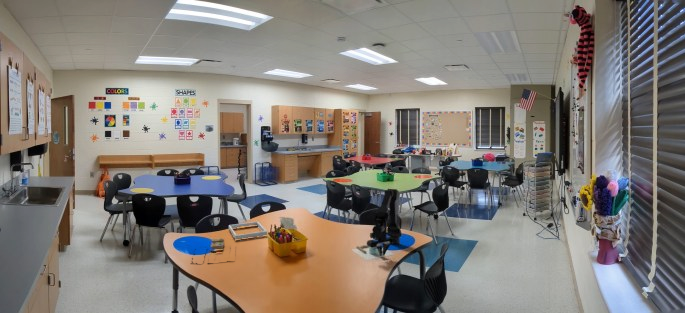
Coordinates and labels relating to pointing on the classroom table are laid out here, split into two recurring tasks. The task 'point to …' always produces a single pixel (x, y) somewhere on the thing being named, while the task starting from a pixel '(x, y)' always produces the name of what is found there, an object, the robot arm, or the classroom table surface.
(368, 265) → the classroom table surface
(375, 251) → the teal dome with tabs
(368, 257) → the board
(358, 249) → the cradle
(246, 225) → the train corral
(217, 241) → the pile of dominoes
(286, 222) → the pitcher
